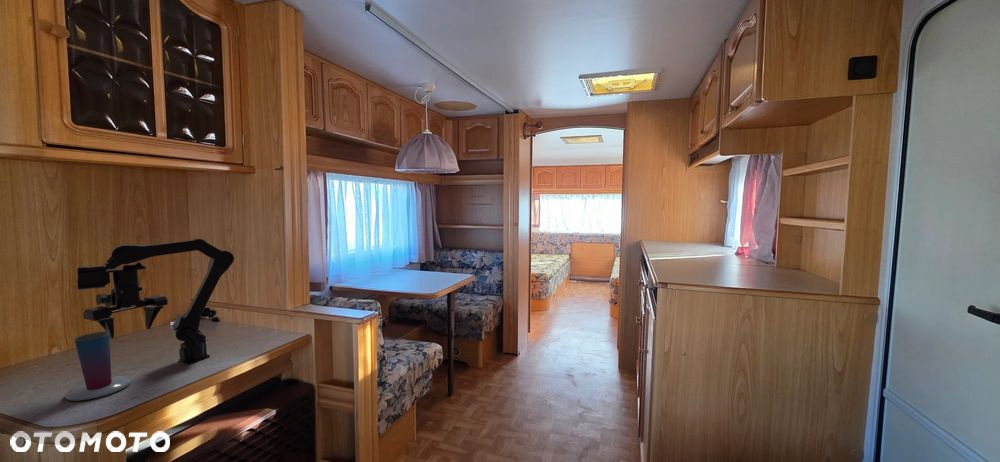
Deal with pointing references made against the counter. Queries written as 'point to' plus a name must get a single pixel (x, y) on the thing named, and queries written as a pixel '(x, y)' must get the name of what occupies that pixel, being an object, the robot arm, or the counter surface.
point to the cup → (95, 359)
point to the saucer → (84, 394)
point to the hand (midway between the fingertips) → (130, 333)
